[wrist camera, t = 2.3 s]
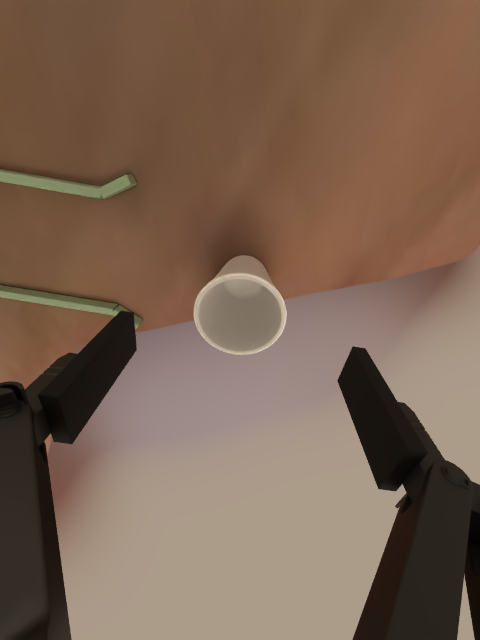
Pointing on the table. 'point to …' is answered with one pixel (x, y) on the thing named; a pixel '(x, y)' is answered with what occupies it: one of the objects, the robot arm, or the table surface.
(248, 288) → the dixie cup
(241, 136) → the table surface
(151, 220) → the table surface
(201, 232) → the table surface
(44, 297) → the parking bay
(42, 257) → the table surface
